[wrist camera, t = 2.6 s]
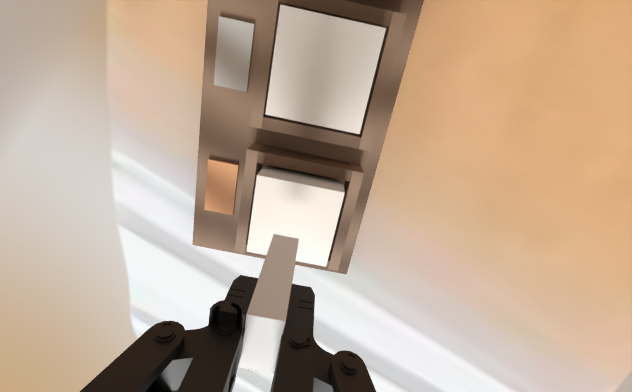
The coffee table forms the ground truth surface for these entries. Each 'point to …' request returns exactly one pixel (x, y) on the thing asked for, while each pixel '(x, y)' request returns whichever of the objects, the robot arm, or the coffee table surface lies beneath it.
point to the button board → (286, 120)
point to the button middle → (322, 69)
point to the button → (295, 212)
